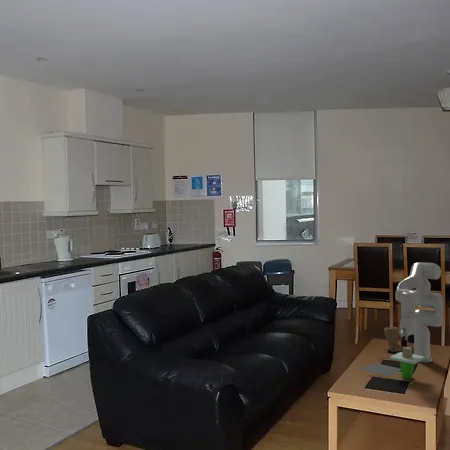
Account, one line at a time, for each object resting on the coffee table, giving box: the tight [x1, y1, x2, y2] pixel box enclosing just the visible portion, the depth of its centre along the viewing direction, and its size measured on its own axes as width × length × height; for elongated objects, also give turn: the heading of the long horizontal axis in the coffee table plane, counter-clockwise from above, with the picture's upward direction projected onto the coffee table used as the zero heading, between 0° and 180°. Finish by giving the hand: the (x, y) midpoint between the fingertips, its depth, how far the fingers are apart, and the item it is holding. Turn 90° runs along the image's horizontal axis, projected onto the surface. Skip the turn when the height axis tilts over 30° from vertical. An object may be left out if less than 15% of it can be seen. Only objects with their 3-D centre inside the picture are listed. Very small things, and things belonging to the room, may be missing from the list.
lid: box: [389, 346, 425, 364], centre depth 293 cm, size 14×14×6 cm
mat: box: [360, 362, 401, 377], centre depth 308 cm, size 18×18×1 cm
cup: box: [399, 361, 416, 380], centre depth 293 cm, size 9×9×11 cm
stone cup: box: [383, 326, 403, 353], centre depth 354 cm, size 15×12×15 cm
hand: (407, 344), depth 293 cm, fingers open, 9 cm apart
